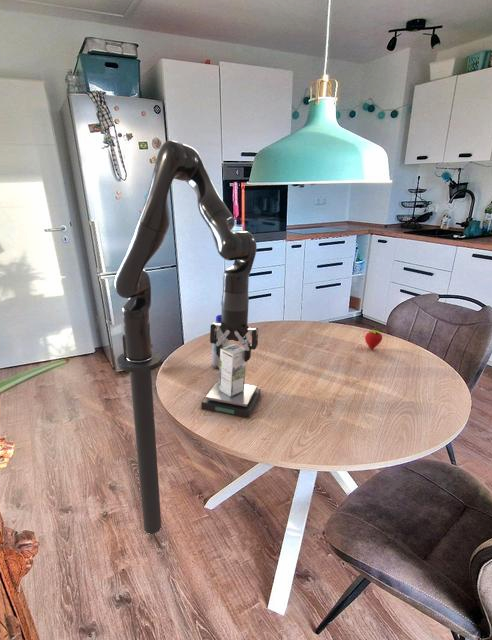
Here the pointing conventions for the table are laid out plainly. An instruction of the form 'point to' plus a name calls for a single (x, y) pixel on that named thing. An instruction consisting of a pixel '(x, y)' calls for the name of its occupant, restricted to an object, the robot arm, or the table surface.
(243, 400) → the pan
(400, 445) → the table surface
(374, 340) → the strawberry
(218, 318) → the bottle
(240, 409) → the scale
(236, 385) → the syrup box
